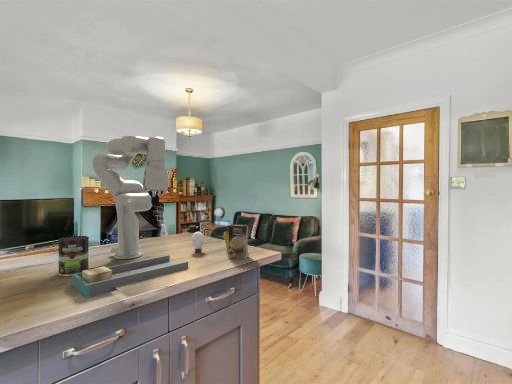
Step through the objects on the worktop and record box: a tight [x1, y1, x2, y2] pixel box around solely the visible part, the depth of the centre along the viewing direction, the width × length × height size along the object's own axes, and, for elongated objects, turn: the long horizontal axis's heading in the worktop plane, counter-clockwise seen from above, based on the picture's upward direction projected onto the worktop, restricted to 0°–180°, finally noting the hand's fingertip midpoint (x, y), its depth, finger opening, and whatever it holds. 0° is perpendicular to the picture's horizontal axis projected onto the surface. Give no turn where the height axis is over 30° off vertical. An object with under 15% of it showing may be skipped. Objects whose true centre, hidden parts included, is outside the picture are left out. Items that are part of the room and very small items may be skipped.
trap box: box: [71, 254, 189, 299], centre depth 103 cm, size 37×16×4 cm, turn 137°
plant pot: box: [223, 231, 229, 252], centre depth 148 cm, size 10×10×10 cm
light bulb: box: [191, 231, 205, 254], centre depth 143 cm, size 7×7×11 cm
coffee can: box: [57, 235, 90, 277], centre depth 109 cm, size 10×10×14 cm
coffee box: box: [227, 223, 249, 260], centre depth 133 cm, size 9×6×16 cm
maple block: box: [82, 266, 112, 284], centre depth 92 cm, size 7×7×4 cm
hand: (155, 205), depth 121 cm, fingers closed
